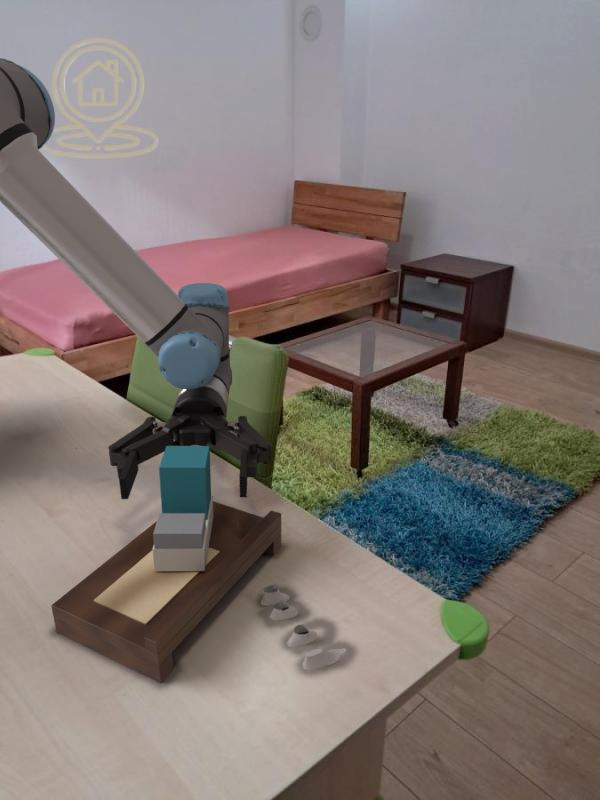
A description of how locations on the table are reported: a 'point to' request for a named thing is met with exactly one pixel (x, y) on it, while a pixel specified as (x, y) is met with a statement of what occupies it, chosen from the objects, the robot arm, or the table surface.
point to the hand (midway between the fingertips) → (183, 488)
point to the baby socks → (298, 630)
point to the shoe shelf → (161, 593)
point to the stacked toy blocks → (184, 510)
